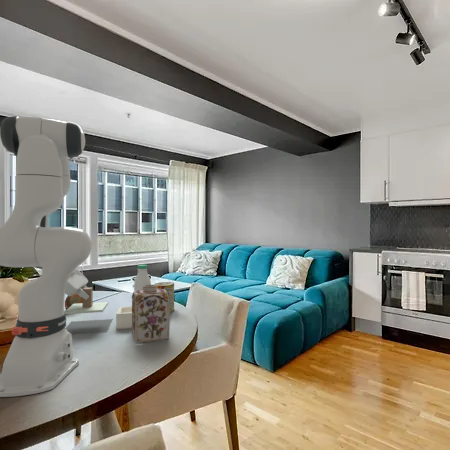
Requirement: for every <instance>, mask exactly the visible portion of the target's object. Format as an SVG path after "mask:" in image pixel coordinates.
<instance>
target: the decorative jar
mask: <svg viewBox="0 0 450 450" xmlns="http://www.w3.org/2000/svg"><path fill="white" fill-rule="evenodd" d="M169 301H170V300H169V296H168V293H167V291H166V290H165V289H158V288H157V286H156V285H154V284H151V285H144V286H143V289H140V290H137V291H133V292H132V295H131V306H132V328H131V330H132V336H133V338H134V341H135V343H137V344H138V343H149V342H155V341H163V340H164V339H165V340H169V339H170V324H171V322H170V314H171V312H170V308H169Z"/></svg>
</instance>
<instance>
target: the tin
mask: <svg viewBox="0 0 450 450" xmlns="http://www.w3.org/2000/svg"><path fill="white" fill-rule="evenodd" d="M78 303H82V297H81V296H79V295H77V294H76V293H74V294H73V295H72V296H68V295H66V297H65V299H64V310H65V311H66V310H67V309H68V308H69V307H71V306H72V305H73V304H78Z"/></svg>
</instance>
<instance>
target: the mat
mask: <svg viewBox="0 0 450 450" xmlns="http://www.w3.org/2000/svg"><path fill="white" fill-rule="evenodd" d="M112 321H113V318H110V319H109V318H108V319H107V318H105V319H94V320H93V319H92V320H77V321H74V320H73V321H70V323H68V324H67V325H66V327H65V328H66V330H67V331H68V332H69V333H70V334H71V335H72V336H73V335H86V334H89V335H90V334H100V333H103V334H104V333H107V332H108V330H109V328H110V327H111V324H112Z"/></svg>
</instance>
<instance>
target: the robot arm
mask: <svg viewBox="0 0 450 450" xmlns="http://www.w3.org/2000/svg"><path fill="white" fill-rule="evenodd" d="M0 141H1V143H2V146H3V148H5V150H7V151H8V152H9V153H12V154H13V155H14V156H16V161H15V162H16V164H15V184H16V185H15V201H14V205H13V210H12V212H11V213H10V216H9V218H8V219H7V220H6V221H5V223H4V224H2V226H0V266H2V267H6V268H7V267H8V268H34V269H35V268H36V269H39V270H41V271H42V272H41V275H40V276H39V277H37V278H35V279H32V280H30V281H29V282H27V283H26V284H25V283H24V285H23V286H22V287H21V288H20V290H19V292H18V297H17V298H18V305H17V306H18V313H17V315H18V318H17V319H16V323H15V326H14V327H12V329H11V335H12V336H14V338H13V340H12V342H11V344H10V347H9V349H8V351H7V354H6V356H5V359H4V362H3V364H2V369H1V370H2V371H1V372H0V398H7V397H8V398H9V397H21V396H29V395H34V394H39V393H40V394H41V393H44V392H48V391H50V390H53V389H54V388H56V386H57V385H59V384H60V382H62V381H63V380H64V379H65V377H67V376H68V375H69V374H70V373H71V372H72V371H73V370H74V369H75V368H76V367H77V366H78V365H79V364H80V360H79V359H78V358H75V357H74V351H73V349H74V348H73V335H71V334H70V333H69V332H68V331H67V330H66V327H67V316H66V315H67V314H65V313H64V312H65V299H66V297H65V295H66V296H72V295H73V294H74V293H76V294H77V295H79V296H81V297H83V298H84V299H85V300H87V299H88V298H89V296H90V295H89V294H88V293H85V292H84V291H83V290H82V289H83V288H88V286H87V284H88V283H89V280H88V278H87V277H86V276H85V275H84V274H83V273H82V272H81V270H79V269H78V267H79V266H80V265H83V263H85V262H86V260H87V259H88V258H89V257H90V255H91V252H92V248H93V247H92V245H93V244H92V239H91V237H90V236H89V234H88V233H87V232H86V231H85V230H84V229H80V228H75V227H68V226H48V224H49V216H50V214H52V213H54V212H56V211H58V210H59V209H60V208H61V207H62V206H63V202H64V199H63V198H64V197H65V196H66V195H67V194H68V193H69V191H70V186H71V170H70V169H71V168H70V161H69V159H70V160H71V159H73V158H76V157H79V156H81V154H83V151H84V149H85V146H86V137H85V133H84V132H83V128H82V127H81V126H80V125H79V124H77V123H75V122H71V121H67V122H66V121H61V120H56V119H49V118H45V117H37V116H35V117H33V116H30V117H29V116H22V117H19V116H18V115H17V116H15V115H14V116H6V117H5V118H4V119H3V120H2V121H1V122H0Z"/></svg>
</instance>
